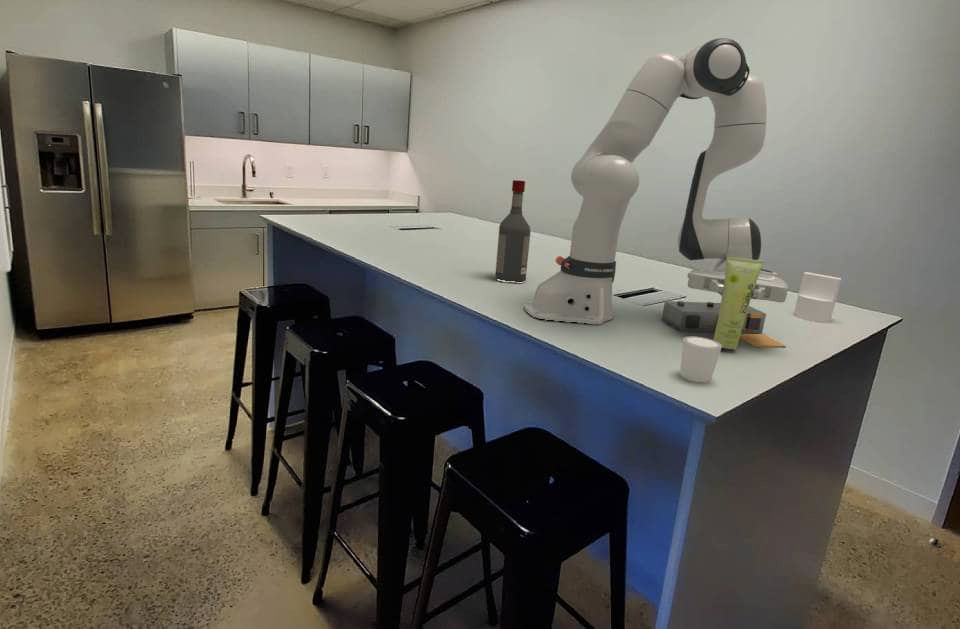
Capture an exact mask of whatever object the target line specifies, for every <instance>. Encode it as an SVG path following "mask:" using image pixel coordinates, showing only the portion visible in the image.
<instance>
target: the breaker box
mask: <svg viewBox="0 0 960 629" xmlns="http://www.w3.org/2000/svg"><path fill="white" fill-rule="evenodd" d="M720 305H721V302H712V301H708V302H705V301H704V302H703V301H702V302H699V301H697V302H695V301H681V300H679V301H670V300H669V301H668V300H667V301H666V300H665V301H664V304H663V310H662V315H661V321H662V322H663V323H665V324H666V325H668V326H670V327H671V328H673V329H674V330H676V331H677V332H678V333H680V332H683V333H685V332H686V333H715V330H716V325H717V320H718V315H719V310H720ZM766 318H767V313H766V312H763V311H761V310H760V309H757V308H755V307H752V306H750V305H749V307H748V310H747V313H746V317H745V320H744V323H743V327H742V331H741V334H763V330H764V327H765V322H766Z"/></svg>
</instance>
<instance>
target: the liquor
mask: <svg viewBox="0 0 960 629" xmlns="http://www.w3.org/2000/svg"><path fill="white" fill-rule="evenodd" d="M511 186H512V187H511V188H512V189H511V191H512V197H511V198H512V199H511V206H510V207H511V208H510V210H509V214H507V215H506V216H505V218H504V219H503V220H502V221H501V222H500V223H499V227H498V236H497V238H498V239H497V250H496V251H497V252H496V263H495V280H496V279H500V280H505V281H515V282H523V281H525V282H526V280H527V270H528V259H529V250H530V239H531V233H532V232H531V227H530V224H529V223H528V221H527V220H526V219H525V216H524V215H523V200H524V192H525V191H526V190H525V187H526V181H525V180H517V179H516V180H515V179H514V180H512V185H511Z"/></svg>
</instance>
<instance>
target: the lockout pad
mask: <svg viewBox="0 0 960 629" xmlns="http://www.w3.org/2000/svg"><path fill="white" fill-rule="evenodd" d="M739 340H741V341H742V342H745V343H746V344H747V345H749V346H751V347H754V348H787V345H785V344H783V343H781V342H780V341H778V340H776V339H774V338H771V337H770V336H768V335H766V334H763V333H741V334H740V338H739Z"/></svg>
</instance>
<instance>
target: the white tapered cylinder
mask: <svg viewBox="0 0 960 629" xmlns="http://www.w3.org/2000/svg"><path fill="white" fill-rule="evenodd" d="M721 349H722V345H721V344H720V343H719V342H716V341H714V339H710V338H707V337H701V336H684V337H683V338H682V349H681V359H680V360H681V361H680V371H679V373H680V377H682V378H684V379H685V380H688V381H689V382H690V381H691V382H696V383H706V384H707V383H710V382H711V381H712V380H713V376H714V373H715V369H716V366H717V364H718V360H719V357H720V354H721Z"/></svg>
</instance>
